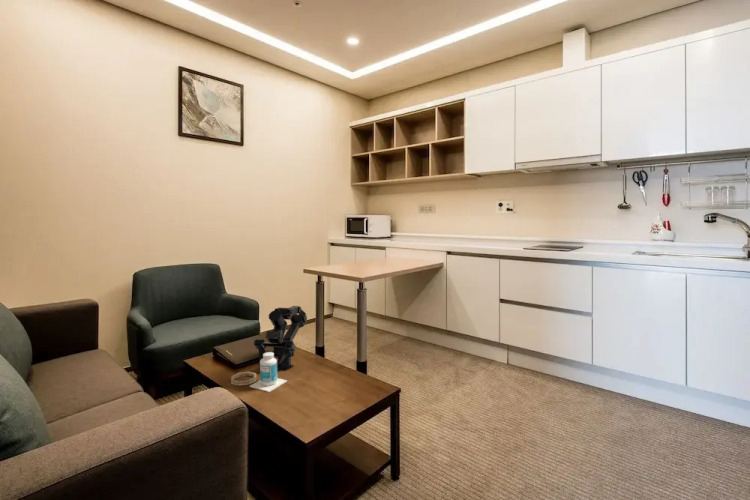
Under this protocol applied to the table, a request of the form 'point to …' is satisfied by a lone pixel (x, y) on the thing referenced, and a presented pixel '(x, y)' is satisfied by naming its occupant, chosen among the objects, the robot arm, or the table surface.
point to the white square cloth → (268, 388)
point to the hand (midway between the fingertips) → (269, 362)
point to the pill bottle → (268, 369)
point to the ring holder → (243, 381)
